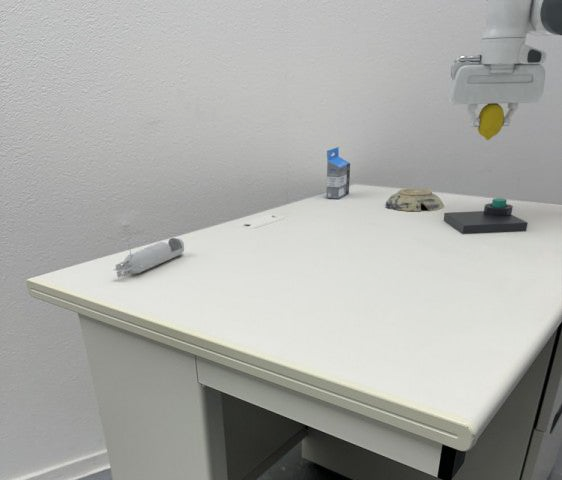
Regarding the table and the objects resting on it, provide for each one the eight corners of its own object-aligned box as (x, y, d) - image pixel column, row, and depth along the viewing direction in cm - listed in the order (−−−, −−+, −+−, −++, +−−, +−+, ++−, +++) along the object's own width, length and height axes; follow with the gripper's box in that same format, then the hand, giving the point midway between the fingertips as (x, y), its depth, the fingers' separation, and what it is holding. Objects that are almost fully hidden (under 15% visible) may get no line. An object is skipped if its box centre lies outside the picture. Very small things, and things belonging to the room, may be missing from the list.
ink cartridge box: (339, 199, 150) (340, 151, 144) (325, 198, 151) (326, 150, 145) (349, 193, 157) (351, 147, 151) (336, 192, 158) (338, 146, 152)
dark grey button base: (502, 217, 128) (505, 202, 126) (528, 231, 117) (531, 214, 115) (442, 220, 127) (444, 205, 125) (462, 234, 116) (464, 217, 114)
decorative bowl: (417, 197, 150) (372, 203, 144) (419, 183, 148) (373, 188, 142) (455, 208, 138) (408, 215, 132) (458, 193, 136) (410, 199, 130)
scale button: (502, 205, 125) (503, 197, 124) (507, 208, 122) (509, 200, 121) (489, 206, 125) (490, 198, 124) (494, 209, 122) (496, 201, 121)
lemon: (505, 140, 123) (512, 101, 119) (485, 142, 121) (491, 102, 117) (489, 138, 127) (495, 100, 123) (469, 139, 125) (475, 101, 122)
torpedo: (171, 251, 109) (167, 219, 106) (190, 254, 108) (187, 221, 104) (108, 279, 96) (101, 242, 92) (129, 283, 94) (122, 245, 91)
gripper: (458, 55, 112) (449, 128, 119) (554, 53, 114) (540, 126, 120) (447, 56, 118) (440, 126, 125) (539, 54, 119) (526, 123, 126)
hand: (489, 126), depth 123 cm, fingers closed on lemon, 5 cm apart
